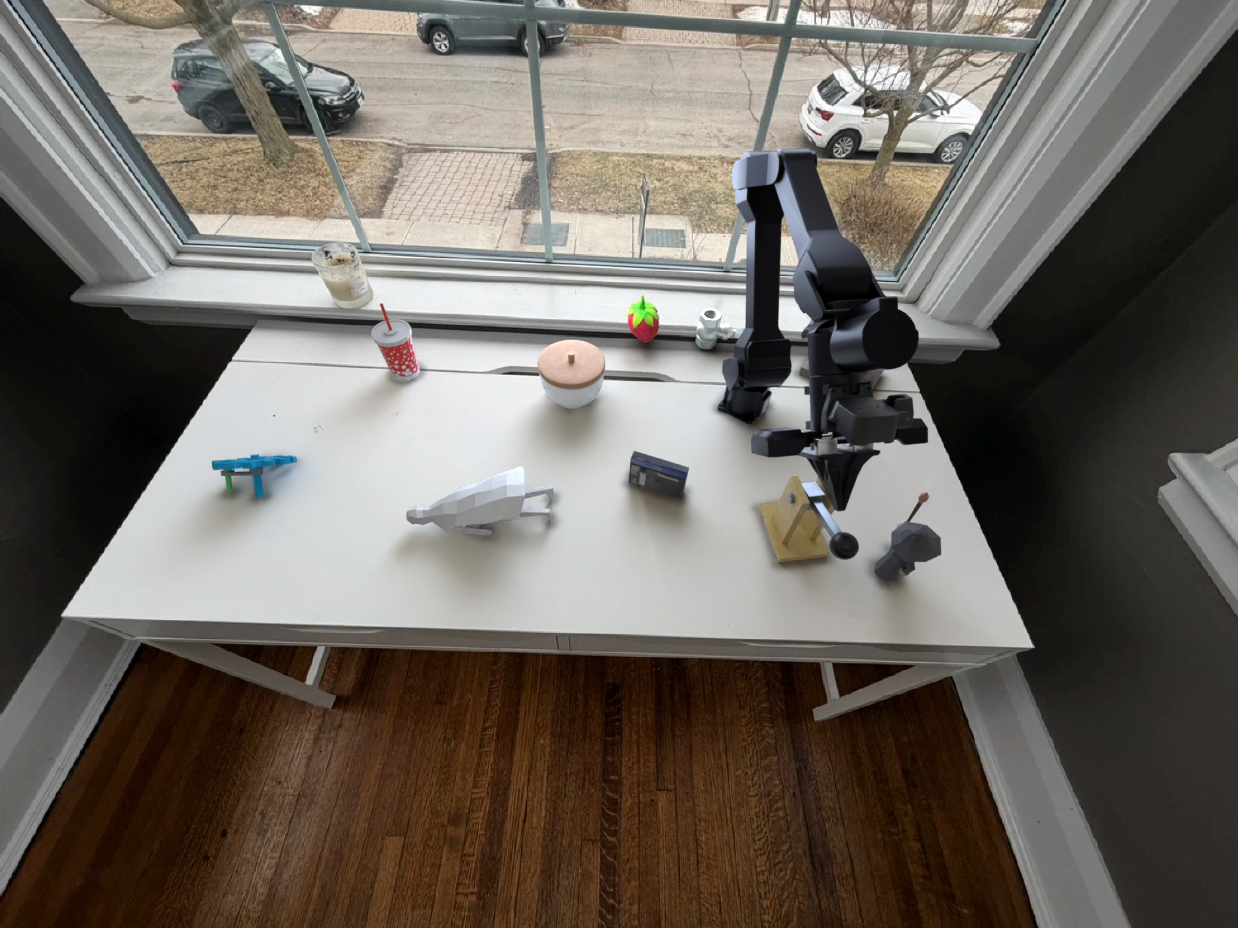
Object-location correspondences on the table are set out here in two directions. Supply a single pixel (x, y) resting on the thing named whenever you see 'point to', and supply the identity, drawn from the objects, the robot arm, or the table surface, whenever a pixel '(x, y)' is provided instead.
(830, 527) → the tap lever
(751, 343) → the robot arm
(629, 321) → the strawberry
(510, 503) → the superhero figure
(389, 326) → the beverage cup
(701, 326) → the valve
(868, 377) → the control block
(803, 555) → the bracket
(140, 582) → the table surface
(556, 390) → the trinket box
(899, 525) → the wizard figurine
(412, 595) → the table surface
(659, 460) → the mini dv tape
